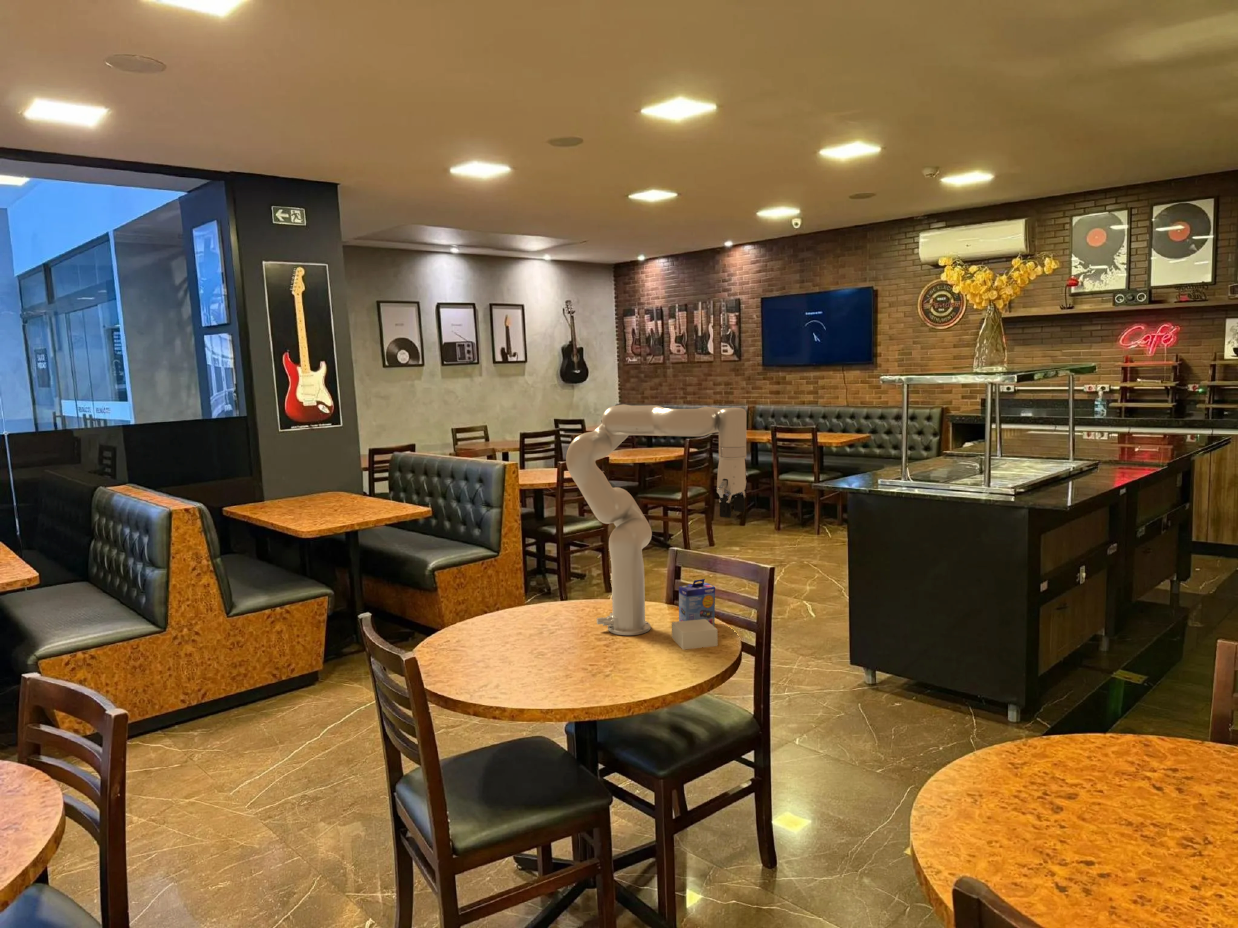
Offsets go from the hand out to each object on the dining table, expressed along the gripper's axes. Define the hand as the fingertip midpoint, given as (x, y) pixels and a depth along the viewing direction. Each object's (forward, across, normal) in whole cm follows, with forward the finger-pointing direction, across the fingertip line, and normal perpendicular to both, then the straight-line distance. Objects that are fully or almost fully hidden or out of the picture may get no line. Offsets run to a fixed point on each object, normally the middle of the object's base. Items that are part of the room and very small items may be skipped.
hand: (732, 514), depth 235 cm
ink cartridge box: (+36, -5, -14) cm, 39 cm away
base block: (+36, +8, -8) cm, 38 cm away
